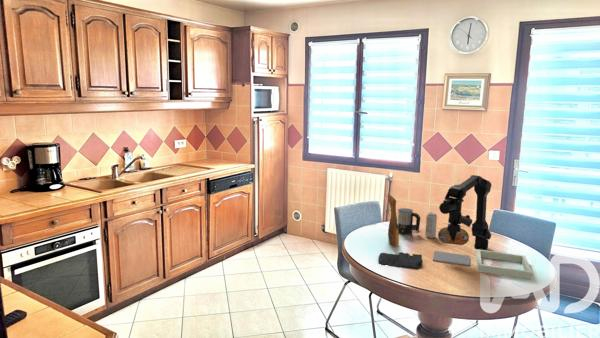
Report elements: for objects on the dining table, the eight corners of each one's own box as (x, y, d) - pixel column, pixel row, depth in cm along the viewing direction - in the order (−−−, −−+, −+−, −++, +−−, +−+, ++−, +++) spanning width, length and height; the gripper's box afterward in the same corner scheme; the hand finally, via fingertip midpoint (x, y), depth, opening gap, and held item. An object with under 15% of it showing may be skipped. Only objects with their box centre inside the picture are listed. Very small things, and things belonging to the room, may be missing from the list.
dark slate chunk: (379, 255, 220) (380, 246, 220) (422, 259, 215) (422, 251, 214) (377, 265, 206) (377, 256, 205) (422, 271, 200) (423, 262, 199)
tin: (437, 242, 215) (438, 227, 214) (437, 240, 218) (438, 225, 217) (468, 246, 210) (469, 230, 208) (468, 244, 213) (469, 228, 211)
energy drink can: (437, 237, 248) (439, 214, 246) (428, 238, 247) (430, 214, 244) (431, 234, 254) (433, 211, 252) (423, 235, 252) (424, 212, 250)
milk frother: (397, 234, 254) (398, 211, 252) (395, 226, 270) (397, 205, 267) (420, 235, 252) (422, 212, 249) (418, 228, 267) (419, 206, 265)
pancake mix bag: (387, 247, 230) (390, 199, 226) (385, 236, 249) (387, 192, 244) (399, 248, 229) (402, 200, 225) (396, 237, 248) (398, 192, 243)
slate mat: (432, 260, 212) (432, 259, 212) (434, 251, 225) (434, 250, 225) (470, 266, 206) (470, 265, 206) (469, 256, 218) (469, 255, 218)
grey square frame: (477, 271, 199) (478, 264, 199) (476, 255, 220) (477, 249, 220) (531, 279, 191) (532, 272, 190) (524, 262, 212) (525, 255, 212)
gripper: (472, 217, 200) (469, 247, 202) (471, 208, 217) (469, 236, 219) (448, 214, 204) (446, 244, 206) (449, 205, 221) (447, 233, 223)
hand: (453, 239), depth 214 cm, fingers closed on tin, 2 cm apart
